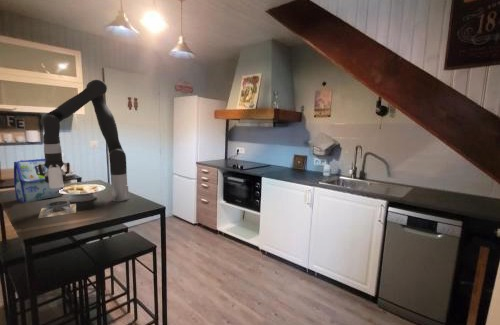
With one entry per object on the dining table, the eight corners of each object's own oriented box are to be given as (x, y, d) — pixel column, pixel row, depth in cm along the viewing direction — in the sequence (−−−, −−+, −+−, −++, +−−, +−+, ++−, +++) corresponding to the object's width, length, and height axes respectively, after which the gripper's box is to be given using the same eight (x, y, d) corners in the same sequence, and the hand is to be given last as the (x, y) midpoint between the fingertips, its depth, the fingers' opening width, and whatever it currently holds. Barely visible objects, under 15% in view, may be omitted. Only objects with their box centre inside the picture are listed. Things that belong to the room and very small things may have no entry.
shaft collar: (72, 204, 151) (71, 199, 151) (71, 212, 138) (71, 207, 137) (45, 207, 145) (45, 202, 144) (42, 217, 131) (42, 211, 130)
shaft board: (76, 206, 153) (75, 203, 153) (76, 215, 138) (75, 212, 138) (42, 210, 144) (41, 208, 144) (38, 221, 129) (37, 218, 129)
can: (51, 186, 144) (49, 165, 142) (65, 185, 146) (63, 165, 144) (47, 189, 138) (45, 167, 136) (61, 188, 140) (59, 167, 138)
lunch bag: (24, 205, 154) (19, 162, 150) (14, 200, 162) (9, 160, 158) (66, 196, 172) (62, 158, 168) (55, 192, 181) (51, 156, 177)
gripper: (69, 150, 146) (71, 179, 149) (36, 152, 138) (40, 182, 141) (69, 152, 140) (71, 181, 142) (35, 153, 132) (38, 185, 134)
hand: (56, 181), depth 141 cm, fingers closed on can, 6 cm apart
